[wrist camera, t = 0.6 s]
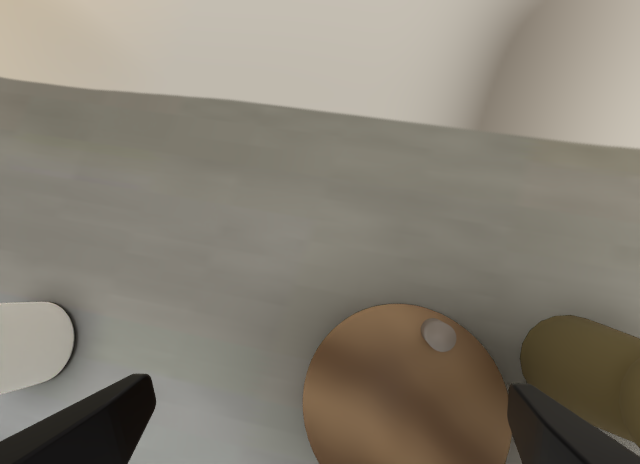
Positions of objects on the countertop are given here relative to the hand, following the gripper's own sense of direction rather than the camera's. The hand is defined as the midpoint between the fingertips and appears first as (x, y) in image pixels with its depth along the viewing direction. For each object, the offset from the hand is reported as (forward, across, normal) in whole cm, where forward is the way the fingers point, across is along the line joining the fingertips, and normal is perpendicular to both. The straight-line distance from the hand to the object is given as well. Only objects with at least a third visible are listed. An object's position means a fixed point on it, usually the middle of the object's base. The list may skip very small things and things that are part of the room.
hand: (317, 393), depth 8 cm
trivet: (+12, -3, +11) cm, 17 cm away
